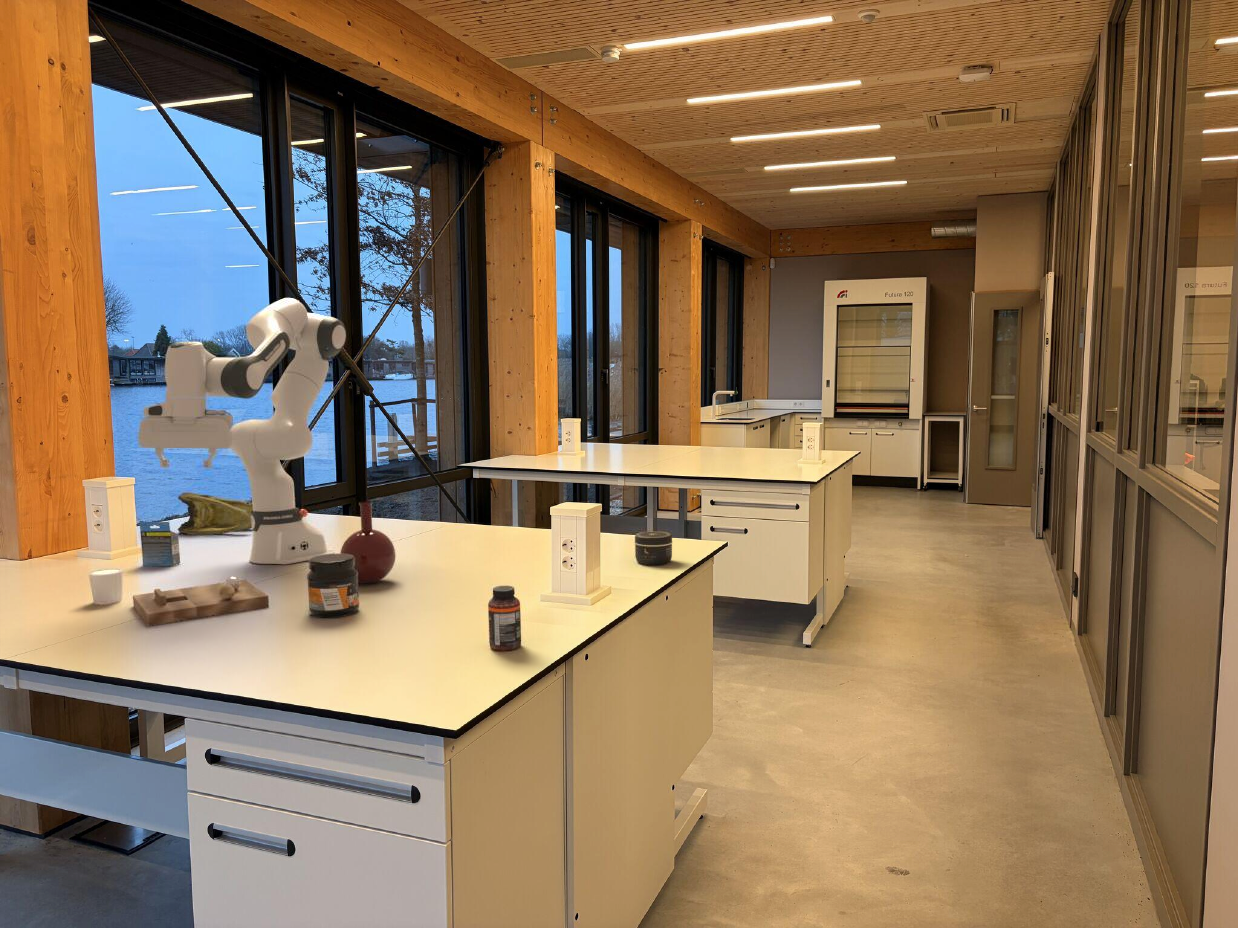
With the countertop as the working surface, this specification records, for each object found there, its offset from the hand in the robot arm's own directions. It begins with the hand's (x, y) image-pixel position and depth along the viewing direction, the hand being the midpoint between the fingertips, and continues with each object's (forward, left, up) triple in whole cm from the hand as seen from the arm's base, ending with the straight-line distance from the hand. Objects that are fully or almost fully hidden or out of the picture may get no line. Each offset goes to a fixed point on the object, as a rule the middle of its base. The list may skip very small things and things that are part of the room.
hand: (186, 467), depth 214 cm
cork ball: (-2, +27, -25) cm, 37 cm away
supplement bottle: (-37, +89, -30) cm, 100 cm away
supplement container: (-20, +44, -30) cm, 56 cm away
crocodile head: (-24, -80, -30) cm, 89 cm away
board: (+2, +20, -30) cm, 36 cm away
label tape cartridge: (+1, -35, -30) cm, 46 cm away
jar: (-104, +49, -30) cm, 118 cm away
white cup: (+18, +1, -30) cm, 35 cm away
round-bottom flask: (-36, +22, -30) cm, 51 cm away
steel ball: (-5, +20, -25) cm, 33 cm away
